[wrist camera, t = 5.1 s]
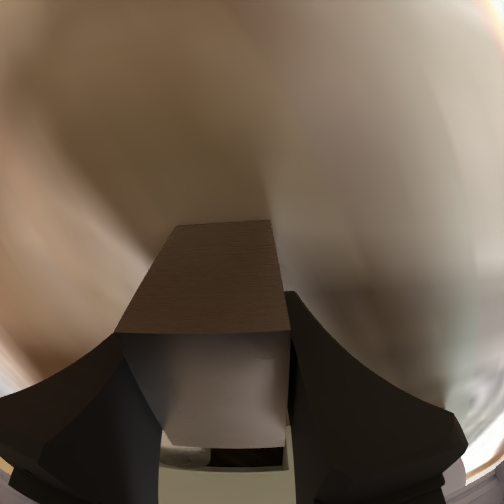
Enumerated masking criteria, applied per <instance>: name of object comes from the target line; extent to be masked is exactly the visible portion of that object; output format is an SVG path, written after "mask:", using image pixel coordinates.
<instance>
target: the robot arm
mask: <svg viewBox="0 0 504 504" xmlns="http://www.w3.org/2000/svg"><path fill="white" fill-rule="evenodd" d="M284 295H285V300H286V305H287V311H288V316H289V322H290V328H291V342H290V366H289V386H288V404H287V408H288V413H289V419H290V426H291V436H292V448H293V461H294V475H295V492H296V504H504V461H502V462H501V463H500V464H499V465H498V466H497V467H496V468H495V469H494V470H492V471H491V472H489V473H487V474H486V475H484V476H482V477H481V478H479V479H477V480H476V481H474V482H472V483H470V484H468V485H467V486H465V483H466V473H465V468H464V465H463V462H462V459H461V456H462V455H463V454H464V453H465V451H466V449H467V447H468V442H467V440H466V437H465V435H464V433H463V430H462V428H461V426H460V424H459V422H458V420H457V419H456V417H455V415H454V414H453V413H452V412H449V411H447V410H444V409H442V408H439V407H437V406H434V405H432V404H429V403H427V402H424V401H422V400H420V399H418V398H416V397H414V396H412V395H410V394H408V393H406V392H404V391H403V390H401V389H399V388H397V387H396V386H394V385H392V384H391V383H389V382H388V381H386V380H384V379H383V378H381V377H380V376H378V375H377V374H375V373H374V372H372V371H371V370H369V369H368V368H367V367H365V366H364V365H363V364H362V363H360V362H359V361H358V360H357V359H355V358H354V357H353V356H352V355H351V354H350V353H348V352H347V351H346V350H345V349H344V348H343V347H342V346H341V345H340V344H339V343H338V342H337V341H336V340H335V339H334V338H333V337H332V336H331V335H330V334H329V333H328V332H327V331H326V330H325V329H324V328H323V326H322V325H321V324H320V323H319V322H318V321H317V320H316V318H315V317H314V316H313V315H312V314H311V312H310V311H309V310H308V308H307V307H306V306H305V304H304V303H303V302H302V300H301V299H300V297H299V296H298V294H297V293H296V292H295V291H284ZM162 431H163V429H162V427H161V425H160V424H159V422H158V420H157V419H156V417H155V415H154V413H153V412H152V410H151V408H150V406H149V404H148V403H147V401H146V399H145V397H144V395H143V393H142V391H141V389H140V388H139V386H138V384H137V382H136V380H135V378H134V376H133V374H132V371H131V369H130V367H129V365H128V363H127V361H126V359H125V357H124V354H123V352H122V350H121V348H120V345H119V343H118V341H117V338H116V336H115V334H114V333H113V334H111V335H110V336H109V337H108V338H107V339H105V340H104V341H103V342H102V343H101V344H99V345H98V346H97V347H96V348H94V349H93V350H92V351H90V352H89V353H88V354H86V355H85V356H83V357H82V358H80V359H79V360H78V361H76V362H75V363H73V364H72V365H70V366H68V367H67V368H65V369H63V370H61V371H60V372H58V373H56V374H54V375H53V376H51V377H49V378H47V379H45V380H43V381H41V382H39V383H37V384H35V385H33V386H30V387H28V388H26V389H24V390H21V391H18V392H16V393H13V394H10V395H7V396H4V397H1V398H0V457H2V458H3V459H4V460H5V461H6V462H8V463H9V464H10V465H11V466H13V467H14V469H13V472H12V475H9V474H8V473H6V472H4V471H3V470H2V469H0V504H159V502H158V481H159V461H160V448H161V439H162Z"/></svg>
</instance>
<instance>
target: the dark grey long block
mask: <svg viewBox="0 0 504 504" xmlns="http://www.w3.org/2000/svg"><path fill="white" fill-rule="evenodd" d="M114 334H115V336H116V338H117V341H118V343H119V345H120V348H121V350H122V352H123V354H124V357H125V359H126V361H127V363H128V365H129V367H130V369H131V371H132V374H133V376H134V378H135V380H136V382H137V384H138V386H139V388H140V389H141V391H142V393H143V395H144V397H145V399H146V401H147V403H148V404H149V406H150V408H151V410H152V412H153V413H154V415H155V417H156V419H157V420H158V422H159V424H160V425H161V427H162V429H163V430H164V432H165V434H166V435H167V437H168V439H169V440H170V442H171V443H172V445H173V446H185V447H199V448H270V447H284V446H285V433H286V419H287V404H288V386H289V366H290V342H291V328H290V322H289V316H288V311H287V305H286V300H285V295H284V289H283V284H282V279H281V273H280V268H279V263H278V258H277V253H276V248H275V243H274V238H273V233H272V228H271V223H270V220H265V221H247V222H230V223H214V224H199V225H186V226H176V227H175V229H174V230H173V232H172V234H171V235H170V237H169V238H168V240H167V241H166V243H165V245H164V246H163V248H162V249H161V251H160V253H159V254H158V256H157V257H156V259H155V261H154V262H153V264H152V266H151V267H150V269H149V271H148V272H147V274H146V276H145V277H144V279H143V281H142V282H141V284H140V286H139V288H138V289H137V291H136V293H135V294H134V296H133V298H132V300H131V302H130V303H129V305H128V307H127V309H126V310H125V312H124V314H123V316H122V318H121V320H120V321H119V323H118V325H117V327H116V329H115V331H114Z"/></svg>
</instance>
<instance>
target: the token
mask: <svg viewBox="0 0 504 504" xmlns="http://www.w3.org/2000/svg"><path fill="white" fill-rule="evenodd" d="M210 456H211V448H199V447H185V446H173V445H172V443H171V442H170V440H169V439H168V437H167V435H166V434H165V432H164V430H163V431H162V439H161V448H160V461H159V462H160V463H163V464H166V465H170V466H175V467H182V468H197V467H202V466H205V465H207V464H208V463H209V462H210Z"/></svg>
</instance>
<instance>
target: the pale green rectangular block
mask: <svg viewBox="0 0 504 504" xmlns="http://www.w3.org/2000/svg"><path fill="white" fill-rule="evenodd" d="M158 502H159V504H296V492H295V475H294V461H293V448H292V436H291V426H286V433H285V446H284V449H283V463H282V466H268V467H207V466H202V467H197V468H182V467H175V466H170V465H166V464H163V463H160V462H159V481H158Z"/></svg>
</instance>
